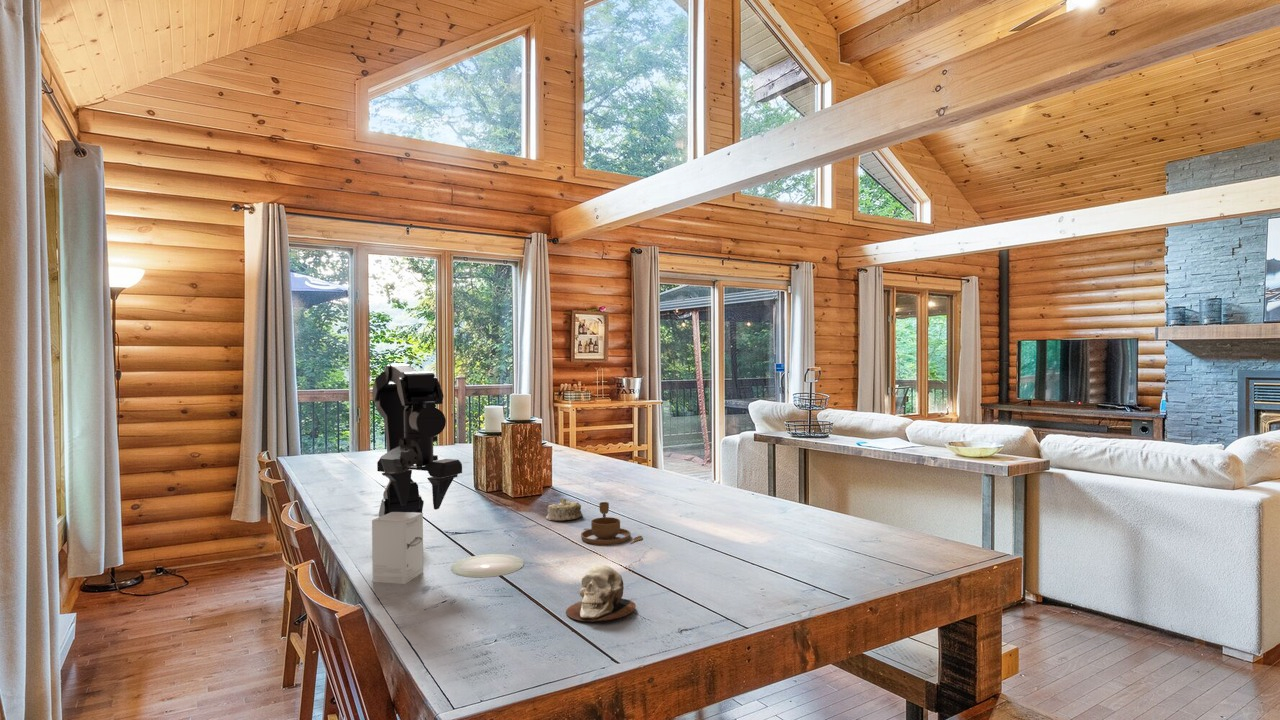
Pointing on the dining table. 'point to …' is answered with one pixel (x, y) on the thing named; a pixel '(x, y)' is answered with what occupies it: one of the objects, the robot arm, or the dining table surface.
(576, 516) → the cake
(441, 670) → the dining table surface
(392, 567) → the supplement box
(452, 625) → the dining table surface
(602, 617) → the skull
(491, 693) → the dining table surface
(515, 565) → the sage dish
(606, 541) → the place setting
